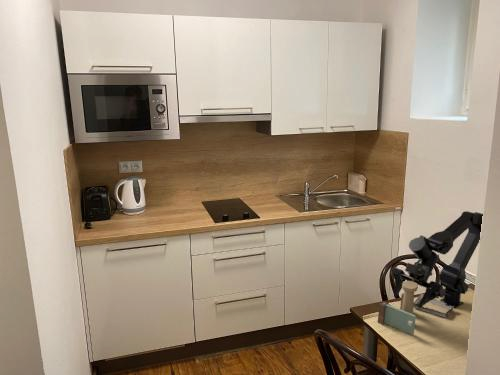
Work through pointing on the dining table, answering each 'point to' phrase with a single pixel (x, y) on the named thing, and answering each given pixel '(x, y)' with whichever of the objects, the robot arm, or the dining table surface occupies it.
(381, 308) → the door frame
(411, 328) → the door
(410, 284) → the handle
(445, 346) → the dining table surface
